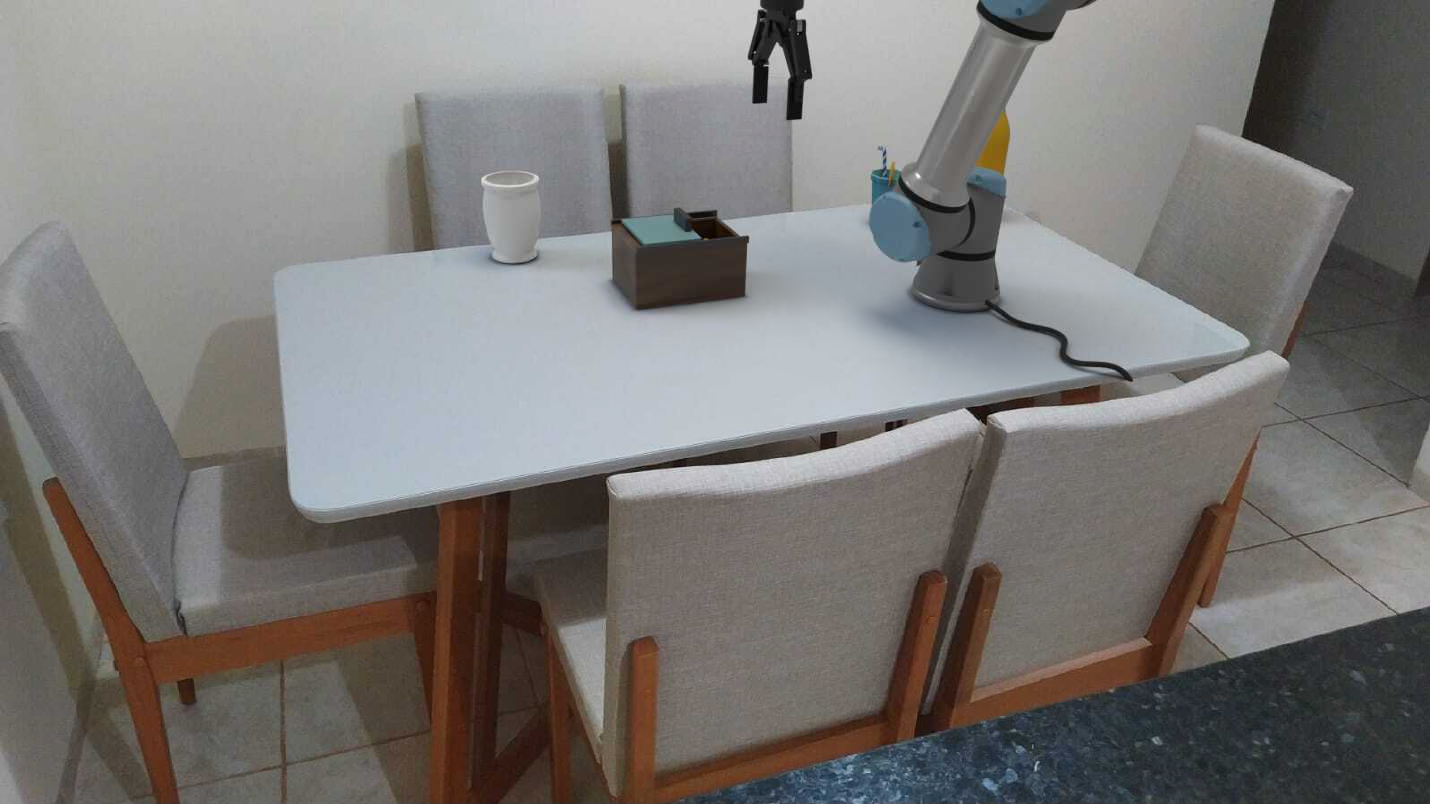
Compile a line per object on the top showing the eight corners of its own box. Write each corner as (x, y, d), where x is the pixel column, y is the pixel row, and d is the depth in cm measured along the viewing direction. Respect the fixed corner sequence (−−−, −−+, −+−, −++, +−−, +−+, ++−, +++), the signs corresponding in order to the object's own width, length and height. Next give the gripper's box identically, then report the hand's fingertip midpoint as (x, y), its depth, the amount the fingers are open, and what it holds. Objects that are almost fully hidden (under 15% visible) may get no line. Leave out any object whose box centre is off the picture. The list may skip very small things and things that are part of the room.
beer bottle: (975, 206, 234) (996, 73, 220) (1005, 218, 227) (1029, 81, 213) (944, 212, 229) (963, 76, 215) (974, 224, 222) (996, 85, 209)
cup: (855, 212, 228) (861, 143, 220) (889, 211, 229) (896, 142, 222) (874, 233, 215) (882, 161, 208) (910, 232, 217) (919, 160, 210)
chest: (746, 297, 183) (749, 236, 178) (637, 311, 176) (637, 248, 171) (714, 267, 196) (716, 209, 190) (611, 279, 189) (610, 219, 183)
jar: (512, 243, 204) (507, 167, 197) (554, 253, 199) (550, 176, 192) (474, 258, 196) (468, 180, 188) (517, 270, 191) (512, 190, 184)
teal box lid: (701, 241, 176) (702, 224, 175) (645, 247, 173) (645, 229, 171) (675, 217, 187) (675, 201, 185) (621, 222, 183) (621, 205, 182)
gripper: (838, -7, 169) (828, 125, 179) (769, -25, 189) (764, 95, 199) (797, -6, 166) (789, 128, 176) (732, -24, 186) (728, 98, 196)
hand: (776, 111), depth 188 cm, fingers open, 13 cm apart
